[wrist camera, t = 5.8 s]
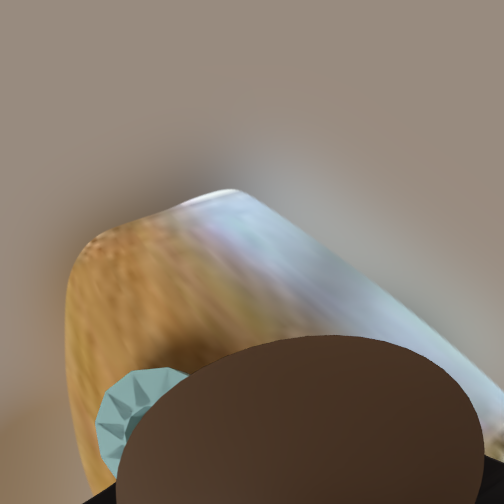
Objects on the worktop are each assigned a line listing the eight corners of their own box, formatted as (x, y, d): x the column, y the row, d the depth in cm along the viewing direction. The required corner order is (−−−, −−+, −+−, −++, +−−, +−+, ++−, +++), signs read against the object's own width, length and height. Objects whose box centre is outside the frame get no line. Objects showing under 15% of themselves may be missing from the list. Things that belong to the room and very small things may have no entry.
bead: (261, 488, 15) (257, 506, 11) (136, 490, 15) (112, 501, 11) (234, 365, 20) (224, 358, 17) (116, 379, 20) (90, 373, 17)
